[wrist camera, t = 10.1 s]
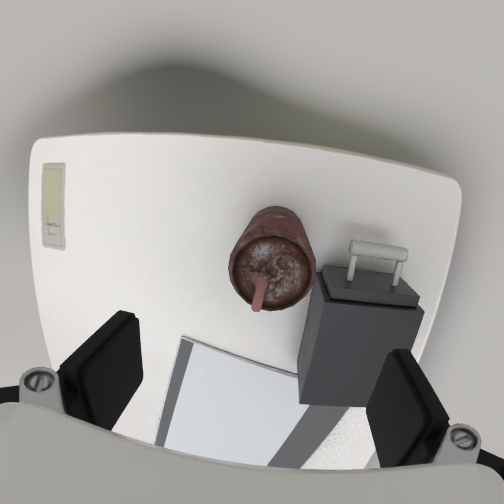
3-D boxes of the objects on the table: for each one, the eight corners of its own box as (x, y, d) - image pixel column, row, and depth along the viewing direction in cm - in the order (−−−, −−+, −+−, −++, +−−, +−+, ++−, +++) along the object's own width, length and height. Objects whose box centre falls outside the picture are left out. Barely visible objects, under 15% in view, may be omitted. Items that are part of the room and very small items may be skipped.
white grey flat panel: (181, 335, 38) (178, 340, 37) (357, 390, 38) (358, 395, 37) (151, 457, 46) (149, 461, 45) (273, 493, 46) (273, 497, 45)
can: (243, 255, 35) (218, 308, 21) (254, 200, 33) (235, 220, 19) (295, 267, 34) (303, 327, 21) (309, 212, 33) (328, 240, 19)
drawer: (329, 229, 32) (340, 243, 26) (405, 241, 31) (430, 257, 25) (305, 351, 36) (308, 385, 30) (373, 357, 35) (386, 388, 29)
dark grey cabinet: (315, 271, 34) (324, 301, 26) (397, 282, 34) (425, 311, 25) (296, 361, 37) (298, 404, 29) (371, 367, 37) (386, 407, 29)
